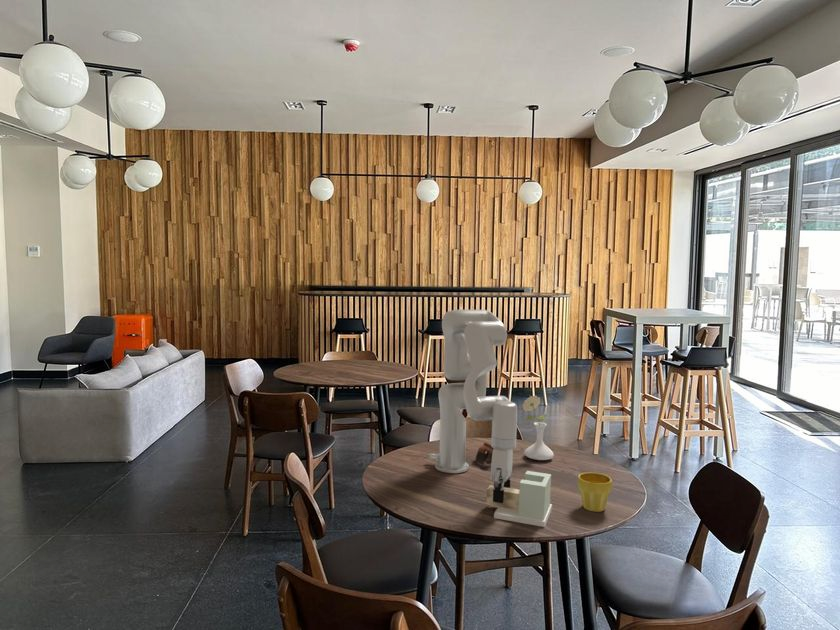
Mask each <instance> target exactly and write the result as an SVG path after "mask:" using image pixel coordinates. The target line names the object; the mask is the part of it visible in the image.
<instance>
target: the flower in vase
mask: <svg viewBox="0 0 840 630" xmlns="http://www.w3.org/2000/svg"><path fill="white" fill-rule="evenodd" d="M540 402H541V397H538V396H537V395H533V396H532V395H530V396H529V397H528V398H526V400H523V403H522V405H521V407H522V410H524V411H526V412H530V411H533V414H534V416H533V415H528V416H527V417H526V418H525V419H524V420H525V421H529V422H531V421H533V420H534V419H535V420H536V421H537V422H536V421H534V422H533V425H534V426H535V428H536V441H535V442H534V443H533V444H532V445H530V446H528V447H527V448H525V450H524V451H523V452H524V455H525V456H526V457H527V458H529V459H531V460H537V461H549V460H551V459H553V458H554V456H555V454H554V452H553V451H552V450H551V449H550V448H549V447H548V446H547V445H546V444H545V443H544V441H543V437H544V430H545V428H546V426H547V423H546V422H541V421H544V420H545V419H546V417H547V414H542V415H540V416H538V417H537V416H536V411H535V410H536V409H537V407H539V405H541V403H540Z"/></svg>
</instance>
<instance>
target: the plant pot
mask: <svg viewBox="0 0 840 630" xmlns="http://www.w3.org/2000/svg"><path fill="white" fill-rule="evenodd" d="M612 479H613V478H611V477H610V476H608V475H606V474H604V473H600V472H591V471H589V472H582V473H580V474H578V476H577V487H578V488H579V490H580V495H581V501H582V506H583V509H585V510H587V511H589V512H597V513H599V512H604V511H605V510H606V506H607V502H608V500H609V494H610V492H611V491H612V490H613V489H612V488H613V480H612Z"/></svg>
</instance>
